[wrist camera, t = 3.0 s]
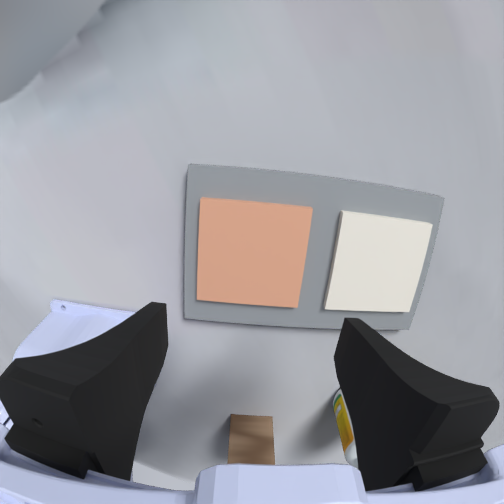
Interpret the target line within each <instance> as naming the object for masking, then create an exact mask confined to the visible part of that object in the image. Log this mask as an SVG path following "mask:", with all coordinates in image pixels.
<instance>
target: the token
mask: <svg viewBox="0 0 504 504" xmlns="http://www.w3.org/2000/svg"><path fill="white" fill-rule="evenodd" d="M235 463H242V464H264V465H275V455H274V438H273V421H272V416H250V415H235V414H231V421H230V435H229V449H228V464H235Z"/></svg>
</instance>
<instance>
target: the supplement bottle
mask: <svg viewBox="0 0 504 504" xmlns="http://www.w3.org/2000/svg"><path fill="white" fill-rule="evenodd" d="M333 409H334V413H335V417H336V421H337V425H338V429H339V433H340V438H341V442H342V446H343V451H344V455H345V458H346V461H347V462H348V463H349V464H350V465H351V466H353V467H355V468H357V469H358V461H357V453H356V445H355V439H354V433H353V427H352V423H351V419H350V416H349V412H348V409H347V406H346V403H345V400H344V397H343V394H342V391H341V389H340V390H339V391H338V392H337V393H336V395H335V397H334V400H333Z"/></svg>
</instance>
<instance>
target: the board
mask: <svg viewBox="0 0 504 504" xmlns="http://www.w3.org/2000/svg"><path fill="white" fill-rule="evenodd" d="M443 203H444V198H443V197H441V196H438V195H434V194H429V193H424V192H419V191H413V190H408V189H403V188H397V187H392V186H386V185H380V184H374V183H368V182H361V181H355V180H348V179H341V178H334V177H327V176H319V175H311V174H303V173H294V172H285V171H276V170H265V169H255V168H243V167H230V166H216V165H200V164H190V165H188V174H187V194H186V219H185V261H184V318H188V319H197V320H207V321H218V322H229V323H241V324H254V325H268V326H284V327H303V328H326V329H342V325H343V322H344V318H345V317H346V318H359V319H361V320H362V321H364V322H365V323H366V324H368V325H369V326H370V327H371V328H373V329H374V330H409V328H410V325H411V323H412V320H413V317H414V314H415V311H416V308H417V305H418V302H419V298H420V295H421V292H422V289H423V285H424V282H425V279H426V275H427V272H428V268H429V264H430V260H431V257H432V253H433V249H434V245H435V240H436V236H437V232H438V227H439V223H440V218H441V213H442V208H443Z"/></svg>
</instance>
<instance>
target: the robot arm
mask: <svg viewBox="0 0 504 504" xmlns="http://www.w3.org/2000/svg"><path fill="white" fill-rule="evenodd" d="M50 306H51V312H50V313H49V314H48V315H47V316H46V317H45V319H44V320H43V321H42V322H41V323H40V324H39V325H38V326H37V327H36V328H35V329H34V330H33V331H32V332H31V333H30V334H29V335H28V336H27V338H26V339H25V340H24V341H23V342H22V343H21V344H20V345H19V347H18V348H17V350H16V352H15V354H14V357H13V360H12V363H11V364H10V365H9V366H8V368H7V369H6V370H5V371H4V372H3V374H2V375H1V376H0V504H504V444H502V445H500V446H497V447H494V448H492V449H490V450H488V451H487V452H485V453H484V454H483V452H482V451H481V449H480V448H482V447H483V445H484V443H483V441H482V439H481V436H482V435H483V434H484V432H485V431H486V430H487V428H488V427H489V426H490V424H491V423H492V421H493V420H494V418H495V417H496V415H497V412H498V410H499V401H498V399H497V398H496V396H495V395H494V393H493V392H492V390H491V389H490V388H489V387H485V386H480V385H476V384H472V383H468V382H465V381H461V380H458V379H455V378H453V377H450V376H447V375H445V374H443V373H440V372H438V371H436V370H434V369H432V368H430V367H428V366H426V365H424V364H422V363H420V362H419V361H417V360H415V359H413V358H412V357H410V356H409V355H407V354H406V353H404V352H403V351H401V350H400V349H398V348H397V347H396V346H394V345H393V344H392V343H390V342H389V341H388V340H386V339H385V338H384V337H383V336H381V335H380V334H379V333H378V332H376V331H375V330H374V329H373V328H371V327H370V326H369V325H368V324H366V323H365V322H364V321H362V320H361V319H359V318H346V317H345V318H344V322H343V325H342V329H341V333H340V337H339V340H338V344H337V347H336V351H335V354H334V361H335V368H336V373H337V378H338V381H339V384H340V388H341V391H342V394H343V397H344V400H345V403H346V406H347V409H348V412H349V416H350V419H351V423H352V427H353V433H354V439H355V445H356V453H357V461H358V469H356V468H355V467H353V466H351V465H348V464H336V463H327V464H304V465H264V464H242V463H235V464H218V465H215V466H213V467H210V468H207V469H204V470H202V471H201V472H200V473H199V475H198V477H197V478H196V483H195V490H194V491H181V490H171V489H165V488H160V487H154V486H149V485H144V484H140V483H136V482H133V478H132V466H133V461H134V455H135V450H136V445H137V441H138V436H139V432H140V428H141V424H142V420H143V416H144V412H145V409H146V406H147V404H148V401H149V399H150V396H151V394H152V391H153V389H154V387H155V386H156V381H157V379H158V377H159V374H160V372H161V369H162V367H163V364H164V360H165V356H166V352H167V348H168V331H167V310H166V304H165V303H157V302H151V303H149V304H148V305H146V306H145V307H143V308H142V309H140V310H139V311H137V312H130V311H123V310H116V309H109V308H103V307H97V306H90V305H84V304H78V303H73V302H67V301H62V300H56V299H54V300H52V301H51V303H50ZM64 306H65V308H64Z"/></svg>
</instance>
